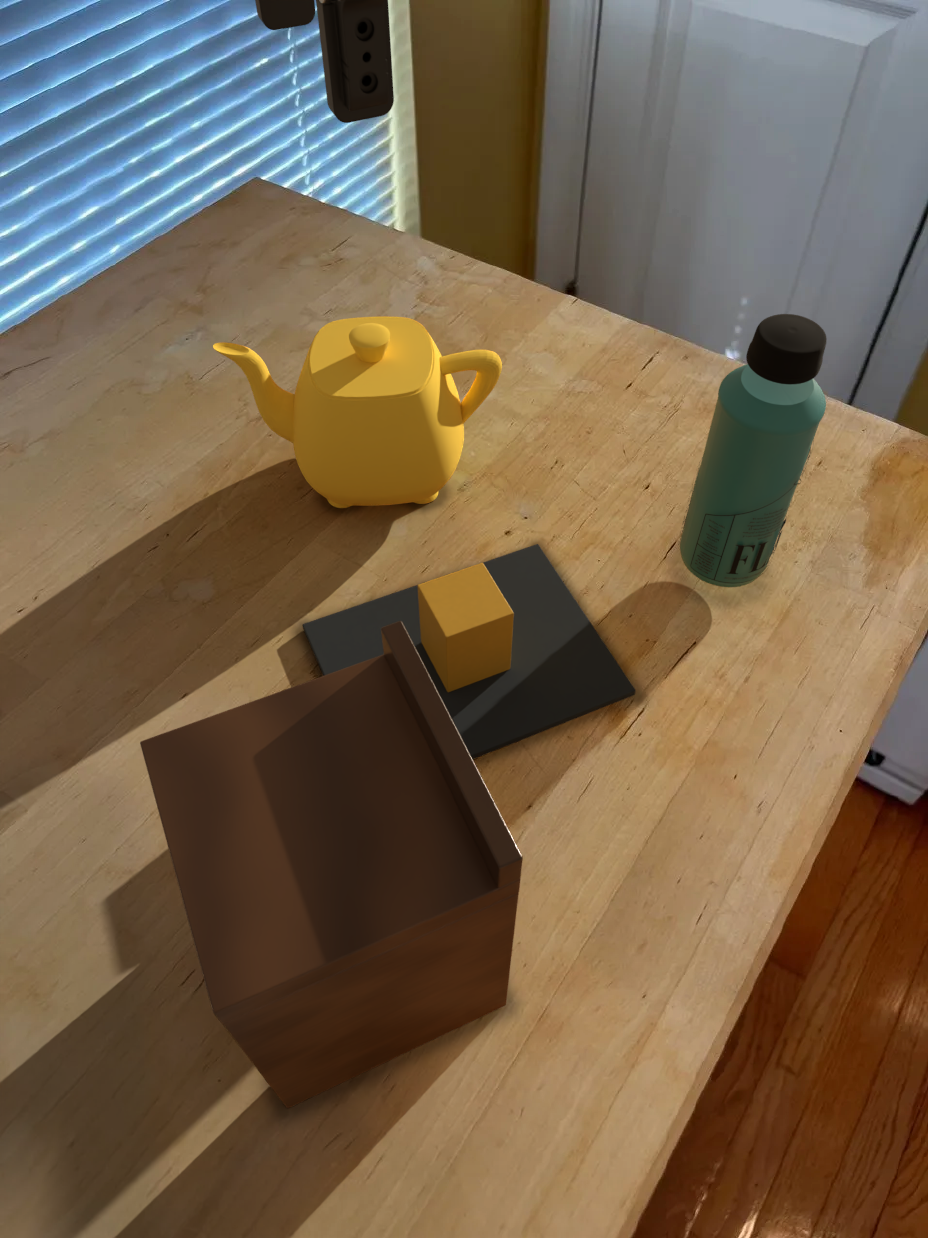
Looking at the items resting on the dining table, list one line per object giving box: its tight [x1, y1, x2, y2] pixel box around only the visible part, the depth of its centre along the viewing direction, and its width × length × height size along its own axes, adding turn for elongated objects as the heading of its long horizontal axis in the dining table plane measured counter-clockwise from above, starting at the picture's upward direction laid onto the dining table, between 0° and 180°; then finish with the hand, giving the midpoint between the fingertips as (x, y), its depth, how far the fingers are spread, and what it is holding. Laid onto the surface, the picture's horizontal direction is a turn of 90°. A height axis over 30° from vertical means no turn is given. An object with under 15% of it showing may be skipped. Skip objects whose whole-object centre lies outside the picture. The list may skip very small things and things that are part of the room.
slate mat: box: [302, 543, 637, 760], centre depth 62 cm, size 18×14×1 cm
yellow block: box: [417, 562, 514, 692], centre depth 60 cm, size 4×4×6 cm
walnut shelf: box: [139, 621, 524, 1109], centre depth 44 cm, size 12×12×19 cm
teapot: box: [212, 315, 503, 509], centre depth 69 cm, size 13×20×12 cm
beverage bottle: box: [677, 313, 828, 588], centre depth 60 cm, size 6×7×20 cm
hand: (322, 66), depth 35 cm, fingers open, 8 cm apart
